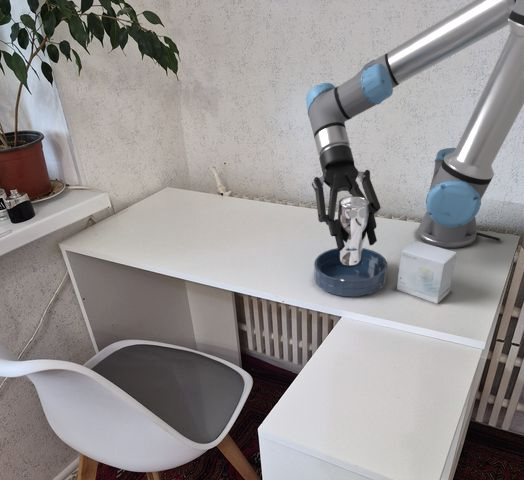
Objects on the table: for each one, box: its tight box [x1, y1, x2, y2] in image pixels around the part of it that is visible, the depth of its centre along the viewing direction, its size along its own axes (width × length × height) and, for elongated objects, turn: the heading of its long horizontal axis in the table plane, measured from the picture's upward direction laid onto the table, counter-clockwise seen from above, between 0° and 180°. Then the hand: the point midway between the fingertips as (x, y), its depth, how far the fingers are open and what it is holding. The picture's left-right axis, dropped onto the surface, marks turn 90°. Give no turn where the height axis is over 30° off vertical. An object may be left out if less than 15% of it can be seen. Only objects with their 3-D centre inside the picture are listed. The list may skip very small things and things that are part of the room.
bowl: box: [313, 247, 388, 297], centre depth 123 cm, size 17×17×4 cm
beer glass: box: [336, 195, 369, 268], centre depth 117 cm, size 7×7×15 cm
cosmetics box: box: [396, 240, 458, 304], centre depth 115 cm, size 10×6×10 cm, turn 48°
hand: (357, 245), depth 115 cm, fingers closed on beer glass, 7 cm apart
